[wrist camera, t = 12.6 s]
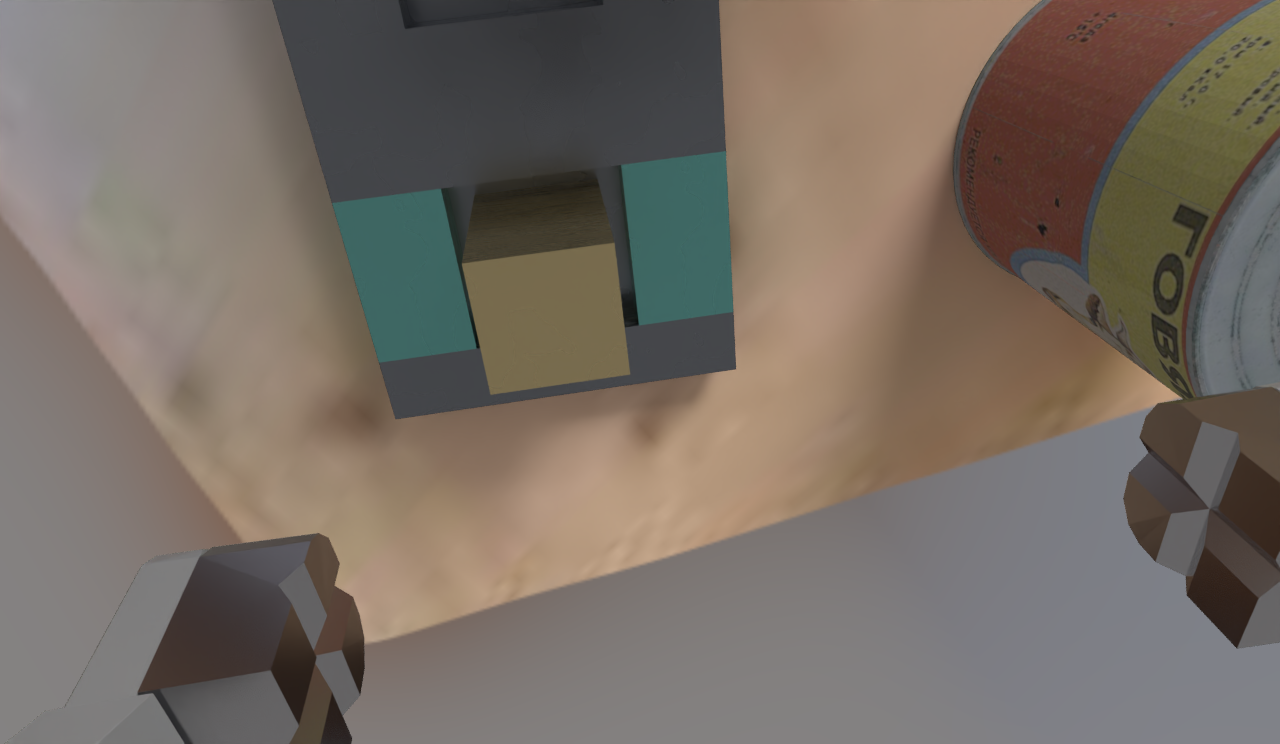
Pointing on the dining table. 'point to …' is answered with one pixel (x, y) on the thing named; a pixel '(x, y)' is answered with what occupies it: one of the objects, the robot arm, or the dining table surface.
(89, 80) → the dining table surface
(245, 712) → the robot arm
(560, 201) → the brass peg
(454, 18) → the peg hole board
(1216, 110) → the canned food
